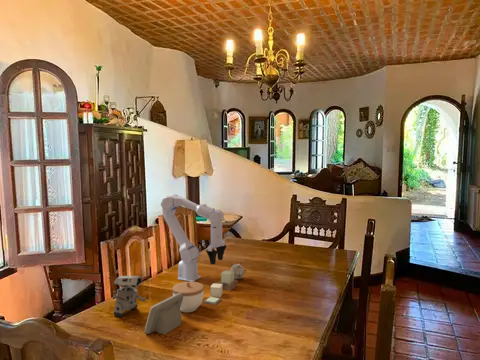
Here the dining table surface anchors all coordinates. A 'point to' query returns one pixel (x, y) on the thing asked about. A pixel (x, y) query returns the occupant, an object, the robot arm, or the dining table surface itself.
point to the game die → (238, 271)
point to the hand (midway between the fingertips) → (216, 261)
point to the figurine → (126, 294)
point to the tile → (212, 300)
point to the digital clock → (165, 315)
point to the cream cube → (216, 290)
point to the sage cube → (227, 276)
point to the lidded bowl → (189, 295)
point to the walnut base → (228, 285)
